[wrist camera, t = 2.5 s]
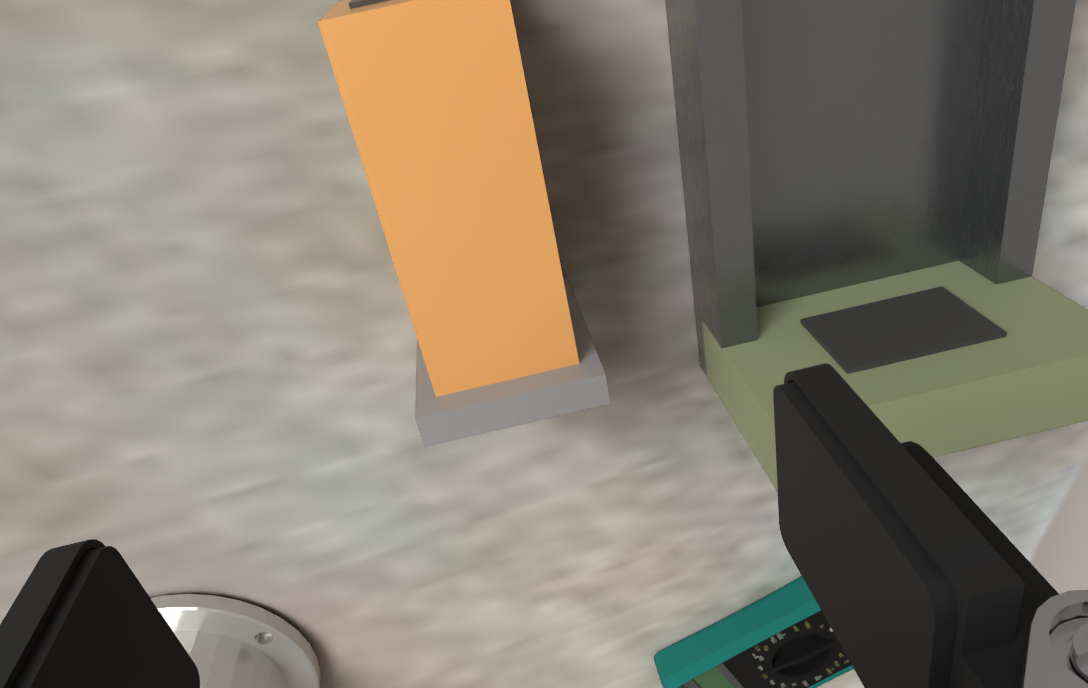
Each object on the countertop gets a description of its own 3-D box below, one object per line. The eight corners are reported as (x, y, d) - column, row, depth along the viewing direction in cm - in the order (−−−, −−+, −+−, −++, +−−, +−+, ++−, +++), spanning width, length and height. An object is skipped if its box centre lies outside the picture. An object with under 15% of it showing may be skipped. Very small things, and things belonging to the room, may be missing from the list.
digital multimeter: (911, 597, 46) (940, 636, 43) (699, 707, 48) (714, 751, 46) (871, 526, 42) (900, 564, 40) (645, 648, 45) (658, 692, 42)
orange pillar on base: (571, 300, 32) (610, 403, 25) (425, 334, 32) (424, 447, 25) (506, -43, 26) (535, -30, 19) (321, -3, 26) (283, 26, 19)
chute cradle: (970, 303, 35) (1124, 411, 27) (700, 366, 35) (778, 494, 27) (1040, -298, 24) (1330, -401, 16) (645, -214, 24) (750, -278, 16)
